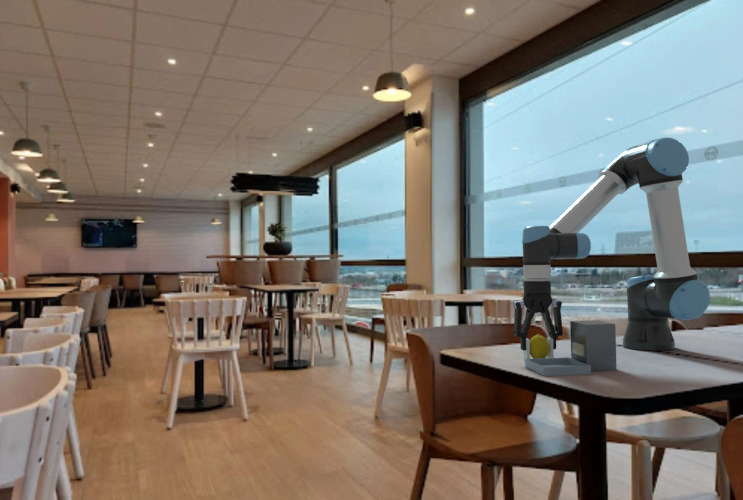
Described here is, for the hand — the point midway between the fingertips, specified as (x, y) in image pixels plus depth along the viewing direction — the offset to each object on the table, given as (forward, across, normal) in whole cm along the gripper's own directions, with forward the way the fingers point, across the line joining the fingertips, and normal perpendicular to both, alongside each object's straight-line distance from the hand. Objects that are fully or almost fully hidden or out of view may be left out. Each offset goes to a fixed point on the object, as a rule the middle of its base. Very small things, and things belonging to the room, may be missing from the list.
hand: (538, 361), depth 156 cm
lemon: (0, 0, 0) cm, 0 cm away
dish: (0, 0, +12) cm, 12 cm away
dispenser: (0, -11, +10) cm, 15 cm away
